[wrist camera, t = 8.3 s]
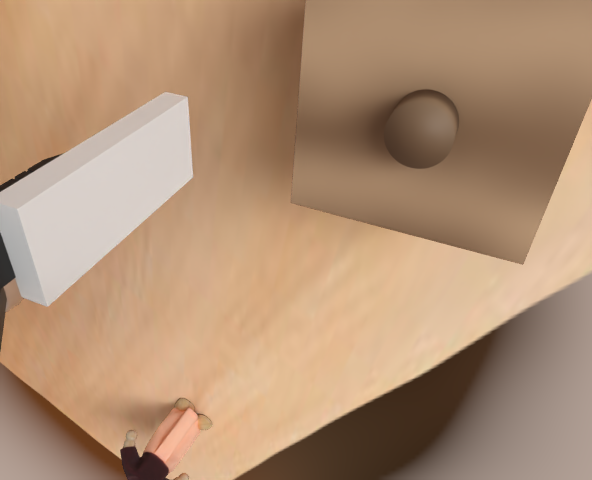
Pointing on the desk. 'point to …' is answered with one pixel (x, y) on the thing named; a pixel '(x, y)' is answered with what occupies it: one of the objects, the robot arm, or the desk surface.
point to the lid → (441, 114)
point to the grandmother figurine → (164, 444)
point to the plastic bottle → (12, 295)
